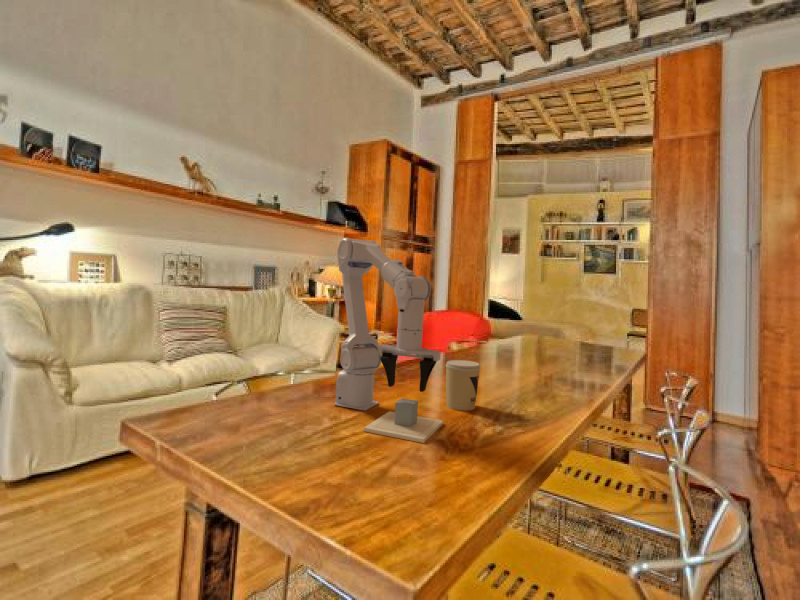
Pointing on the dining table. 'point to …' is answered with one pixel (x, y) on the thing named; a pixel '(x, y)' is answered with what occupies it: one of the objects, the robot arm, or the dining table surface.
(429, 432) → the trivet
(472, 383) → the coffee cup
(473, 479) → the dining table surface
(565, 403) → the dining table surface
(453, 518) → the dining table surface
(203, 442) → the dining table surface
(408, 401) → the block
